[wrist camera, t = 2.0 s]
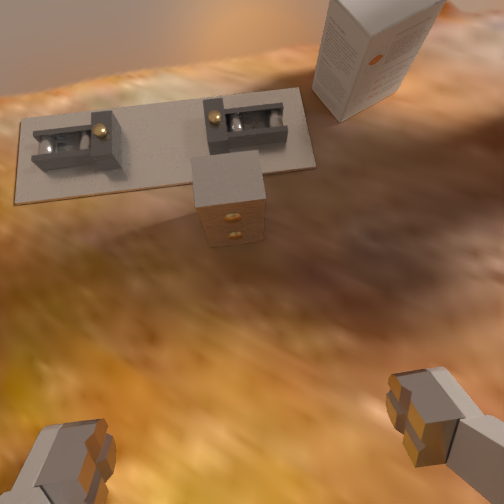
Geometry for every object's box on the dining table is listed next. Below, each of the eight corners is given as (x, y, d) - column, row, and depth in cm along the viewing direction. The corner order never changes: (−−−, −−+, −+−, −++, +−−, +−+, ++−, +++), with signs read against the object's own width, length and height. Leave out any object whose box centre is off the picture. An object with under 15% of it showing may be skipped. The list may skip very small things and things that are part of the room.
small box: (366, 59, 39) (406, -45, 29) (397, 93, 37) (450, -5, 27) (309, 89, 37) (329, -9, 27) (338, 125, 36) (371, 35, 26)
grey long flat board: (298, 89, 37) (302, 63, 34) (315, 168, 34) (322, 148, 31) (24, 121, 36) (0, 97, 33) (17, 205, 33) (-9, 188, 30)
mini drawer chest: (256, 201, 33) (257, 147, 25) (263, 242, 32) (266, 201, 23) (206, 207, 33) (190, 155, 25) (210, 249, 32) (195, 209, 23)
